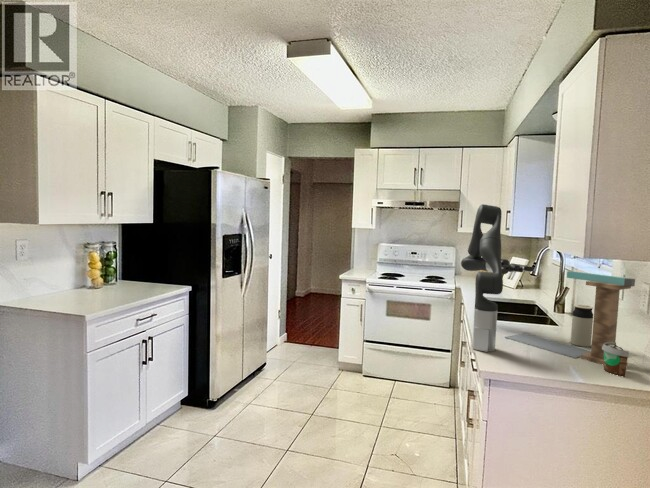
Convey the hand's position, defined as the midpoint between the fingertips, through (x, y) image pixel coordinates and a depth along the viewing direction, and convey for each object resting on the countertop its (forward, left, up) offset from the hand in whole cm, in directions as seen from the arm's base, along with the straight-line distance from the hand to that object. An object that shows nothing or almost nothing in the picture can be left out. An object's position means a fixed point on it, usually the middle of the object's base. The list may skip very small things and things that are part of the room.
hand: (528, 269), depth 192 cm
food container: (-24, -35, -33) cm, 54 cm away
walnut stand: (-12, -32, -33) cm, 47 cm away
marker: (-10, -29, -1) cm, 31 cm away
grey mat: (-4, -11, -33) cm, 35 cm away
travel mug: (+8, -23, -33) cm, 41 cm away
